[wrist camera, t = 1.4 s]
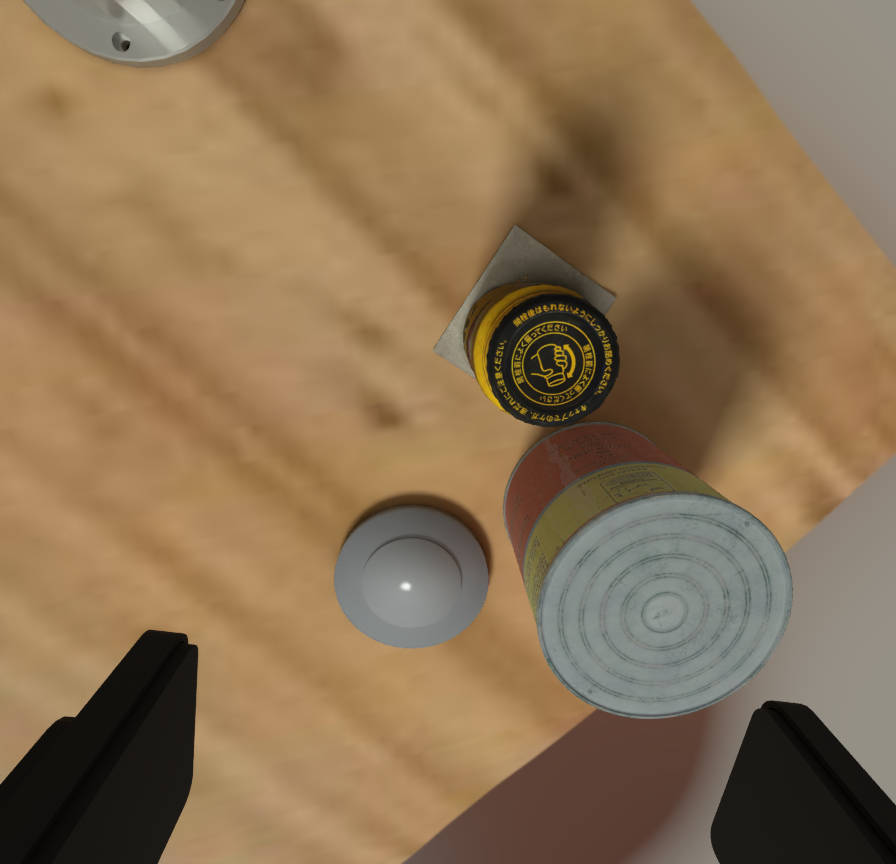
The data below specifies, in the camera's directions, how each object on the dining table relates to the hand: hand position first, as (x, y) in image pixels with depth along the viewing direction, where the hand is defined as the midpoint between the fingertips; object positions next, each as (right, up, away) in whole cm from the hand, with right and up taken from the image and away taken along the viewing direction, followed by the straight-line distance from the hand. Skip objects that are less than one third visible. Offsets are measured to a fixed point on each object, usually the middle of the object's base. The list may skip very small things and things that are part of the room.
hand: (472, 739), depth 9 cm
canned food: (+9, 0, +27) cm, 28 cm away
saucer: (-3, -4, +27) cm, 28 cm away
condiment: (+4, +12, +24) cm, 27 cm away
